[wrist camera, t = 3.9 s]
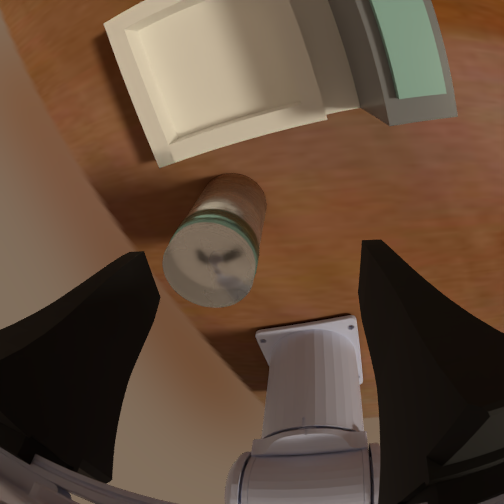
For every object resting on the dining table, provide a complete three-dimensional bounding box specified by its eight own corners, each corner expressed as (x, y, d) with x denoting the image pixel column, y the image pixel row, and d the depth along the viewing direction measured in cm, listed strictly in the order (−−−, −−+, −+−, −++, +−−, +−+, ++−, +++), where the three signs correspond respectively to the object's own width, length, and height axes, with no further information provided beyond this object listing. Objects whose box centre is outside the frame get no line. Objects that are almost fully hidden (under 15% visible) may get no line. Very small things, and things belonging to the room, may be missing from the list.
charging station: (411, 97, 14) (466, 117, 9) (172, 156, 18) (124, 199, 13) (365, -47, 10) (398, -92, 5) (123, 26, 14) (55, 20, 8)
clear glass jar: (275, 225, 20) (266, 300, 14) (214, 239, 21) (185, 313, 15) (255, 164, 18) (235, 220, 12) (191, 183, 19) (146, 242, 13)
